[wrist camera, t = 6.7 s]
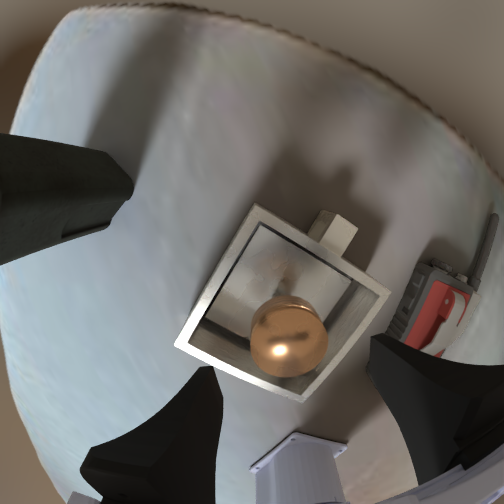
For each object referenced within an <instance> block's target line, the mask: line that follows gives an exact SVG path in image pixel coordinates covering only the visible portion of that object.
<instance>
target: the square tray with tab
mask: <svg viewBox="0 0 504 504" xmlns="http://www.w3.org/2000/svg"><path fill="white" fill-rule="evenodd" d="M259 220H260V221H261V222H263V223H265V224H266V225H268V226H270V227H271V228H273V229H275V230H276V231H278V232H280V233H281V234H283V235H285V236H286V237H288V238H290V239H291V240H293V241H295V242H296V243H298V244H299V245H301V246H303V247H304V248H306V249H308V250H309V251H311V252H312V253H314V254H316V255H317V256H319V257H320V258H322V259H324V260H325V261H327V262H328V263H330V264H332V265H333V266H335V267H336V268H338V269H339V270H341V271H343V272H344V273H346V274H347V275H349V276H350V277H352V278H353V280H352V282H351V283H350V285H349V286H348V288H347V289H346V291H345V292H344V293H343V295H342V296H341V298H340V299H339V301H338V302H337V304H336V305H335V306H334V308H333V309H332V311H331V312H330V313H329V315H328V316H327V318H326V319H325V320H324V322H323V325H324V327H325V329H326V331H327V334H328V348H327V351H326V354H325V356H324V357H323V359H322V360H321V362H320V363H319V364H318V365H317V366H316V367H314V368H313V369H312V370H310V371H308V372H306V373H304V374H302V375H298V376H294V377H277V376H273V375H270V374H268V373H266V372H264V371H263V370H261V369H260V368H259V367H258V366H257V365H256V363H255V362H254V360H253V358H252V355H251V348H250V340H248V339H246V338H244V337H242V336H240V335H238V334H236V333H234V332H232V331H230V330H228V329H226V328H224V327H222V326H221V325H219V324H217V323H215V322H213V321H211V320H209V319H208V318H206V317H204V316H202V315H203V314H204V312H205V310H206V309H207V307H208V305H209V304H210V302H211V300H212V299H213V297H214V295H215V294H216V292H217V290H218V289H219V287H220V285H221V283H222V282H223V280H224V278H225V277H226V275H227V273H228V272H229V270H230V268H231V267H232V265H233V263H234V262H235V260H236V258H237V257H238V255H239V253H240V252H241V250H242V248H243V247H244V245H245V243H246V242H247V240H248V238H249V237H250V235H251V233H252V232H253V230H254V229H255V227H256V225H257V224H258V222H259ZM357 230H358V228H357V227H355V226H354V225H353V224H351V223H350V222H348V221H347V220H345V219H344V218H343V217H341V216H340V215H338V214H336V213H332V212H329V211H325V210H321V212H320V213H319V215H318V216H317V218H316V220H315V221H314V223H313V225H312V226H311V228H310V229H309V231H308V233H307V234H306V233H305V232H303V231H302V230H300V229H298V228H297V227H295V226H294V225H292V224H290V223H289V222H287V221H285V220H284V219H282V218H281V217H279V216H277V215H276V214H274V213H272V212H271V211H269V210H267V209H266V208H264V207H262V206H261V205H259V204H257V203H256V202H254V204H253V205H252V207H251V209H250V210H249V212H248V214H247V215H246V217H245V219H244V220H243V222H242V224H241V226H240V227H239V229H238V231H237V232H236V234H235V236H234V237H233V239H232V241H231V242H230V244H229V246H228V248H227V249H226V251H225V253H224V254H223V256H222V258H221V260H220V261H219V263H218V265H217V266H216V268H215V270H214V272H213V273H212V275H211V277H210V278H209V280H208V282H207V284H206V285H205V287H204V289H203V291H202V292H201V294H200V296H199V298H198V299H197V301H196V303H195V305H194V307H193V308H192V310H191V312H190V314H189V315H188V317H187V319H186V322H185V324H184V326H183V328H182V330H181V332H180V334H179V336H178V338H177V340H176V342H175V344H174V345H175V346H177V347H179V348H180V349H182V350H184V351H186V352H188V353H190V354H192V355H194V356H196V357H197V358H199V359H201V360H203V361H205V362H207V363H209V364H211V365H213V366H215V367H217V368H220V369H222V370H224V371H226V372H228V373H230V374H232V375H234V376H237V377H239V378H241V379H243V380H246V381H248V382H250V383H252V384H255V385H257V386H259V387H262V388H264V389H267V390H269V391H272V392H274V393H277V394H279V395H282V396H284V397H287V398H290V399H292V400H295V401H298V402H300V403H303V402H304V401H305V400H306V399H307V398H308V397H309V396H310V395H311V394H312V393H313V392H314V391H315V390H316V389H317V387H318V386H319V385H320V384H321V383H322V382H323V381H324V380H325V379H326V377H327V376H328V375H329V374H330V373H331V372H332V370H333V369H334V368H335V367H336V366H337V365H338V363H339V362H340V361H341V360H342V359H343V357H344V356H345V355H346V354H347V352H348V351H349V350H350V349H351V347H352V346H353V345H354V344H355V342H356V341H357V340H358V339H359V337H360V336H361V335H362V333H363V332H364V331H365V329H366V328H367V327H368V325H369V324H370V323H371V321H372V320H373V318H374V317H375V316H376V314H377V313H378V311H379V310H380V309H381V307H382V306H383V304H384V303H385V301H386V300H387V298H388V297H389V295H390V294H391V291H390V290H388V289H387V288H386V287H384V286H383V285H382V284H381V283H379V282H378V281H377V280H375V279H374V278H373V277H371V276H370V275H369V274H367V273H366V272H365V271H363V270H362V269H360V268H359V267H357V266H356V265H354V264H353V263H351V262H350V261H348V260H347V259H345V258H344V257H342V255H343V253H344V251H345V250H346V248H347V247H348V245H349V243H350V242H351V240H352V239H353V237H354V235H355V234H356V232H357Z"/></svg>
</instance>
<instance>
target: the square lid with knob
mask: <svg viewBox="0 0 504 504" xmlns="http://www.w3.org/2000/svg"><path fill="white" fill-rule="evenodd" d="M350 283H351V280H350V279H349V278H347V277H345V276H344V275H342V274H341V273H339V272H338V271H336V270H334V269H333V268H331V267H330V266H328V265H326V264H325V263H323V262H322V261H320V260H318V259H317V258H315V257H314V256H312V255H310V254H309V253H307V252H305V251H304V250H302V249H301V248H299V247H297V246H296V245H294V244H292V243H291V242H289V241H287V240H286V239H284V238H283V237H281V236H279V235H278V234H276V233H274V232H273V231H271V230H269V229H268V228H266V227H264V226H263V225H261V224H260V225H259V227H258V229H257V230H256V232H255V234H254V235H253V237H252V239H251V240H250V242H249V244H248V245H247V247H246V248H245V250H244V252H243V253H242V255H241V257H240V258H239V260H238V262H237V263H236V265H235V267H234V268H233V270H232V272H231V273H230V275H229V277H228V278H227V280H226V282H225V283H224V285H223V287H222V288H221V290H220V292H219V293H218V295H217V297H216V298H215V300H214V302H213V303H212V305H211V307H210V308H209V310H208V312H207V313H206V316H205V317H206V318H208V319H210V320H212V321H213V322H215V323H217V324H219V325H221V326H223V327H225V328H227V329H228V330H230V331H232V332H234V333H236V334H238V335H240V336H242V337H244V338H246V339H248V340H250V348H251V355H252V358H253V360H254V362H255V363H256V365H257V366H258V367H259V368H260V369H261V370H263V371H264V372H266V373H268V374H270V375H273V376H277V377H294V376H298V375H302V374H304V373H306V372H308V371H310V370H312V369H313V368H314V367H316V366H317V365H318V364H319V363H320V362H321V360H322V359H323V357H324V356H325V354H326V351H327V348H328V334H327V331H326V329H325V327H324V325H323V321H324V320H325V319H326V317H327V316H328V315H329V313H330V312H331V310H332V309H333V308H334V306H335V305H336V303H337V302H338V300H339V299H340V298H341V296H342V295H343V293H344V292H345V290H346V289H347V287H348V286H349V284H350Z"/></svg>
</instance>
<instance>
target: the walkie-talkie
mask: <svg viewBox="0 0 504 504" xmlns="http://www.w3.org/2000/svg"><path fill="white" fill-rule="evenodd" d="M498 221H499V216H498V215H497V214H496V213H493V214H492V215H491V217H490V221H489V224H488V228H487V232H486V235H485V239H484V242H483V245H482V248H481V251H480V254H479V257H478V260H477V263H476V266H475V269H474V271H473V274H472V276H470V279H469V281H468V283H467V279H468V278H467V277H466V276H464V275H461V274H459V273H458V275H457V277H455V278H453V277H452V276H450V275H448V272H449V273H451V272H452V270H453V268H452V267H451V266H450V265H448V264H445V263H443V262H441V261H439V260H437V259H435V258H434V259H433V260H432V262H431V263H432V265H433V267H430V266H428V265H426V264H424V263H421V262H420V263H418V264H417V265H416V267H415V269H414V272H413V274H412V277H411V279H410V281H409V284H408V286H407V288H406V290H405V293H404V295H403V297H402V299H401V301H400V304H399V306H398V308H397V310H396V314H395V316H393V320H392V321H391V322H390V323H391V324H390V326H389V327H388V330H387V332H385V334H386V335H388V336H390V337H392V338H394V339H396V340H398V341H400V342H402V343H404V344H406V345H409V346H411V347H413V348H415V349H417V350H420V351H422V352H425V353H427V354H430V355H432V356H435V357H438V358H440V357H441V356H442V354H443V352H444V351H445V349H446V348H447V347H448V346H450V345H451V344H452V343H453V342H454V341H455V340H456V339H457V338H459V337H460V336H461V335H462V334H463V332H464V330H465V328H466V326H467V324H468V322H469V320H470V318H471V316H472V314H473V312H474V310H475V308H476V305H477V304H478V303H479V301H480V298H481V296H480V295H478V294H477V293H476V292H477V290H478V287H479V285H480V282H481V281H480V279H481V276H482V273H483V271H484V268H485V265H486V262H487V259H488V256H489V253H490V250H491V247H492V243H493V240H494V236H495V233H496V229H497V225H498ZM369 365H370V362H368V365H367V366H366V371H367V374H368V376H369V377H370V379H371V381H372V382H373V384H374V381H373V379H372V376H371V374H370V372H369ZM374 386H375V384H374ZM375 388H376V386H375ZM376 389H377V388H376Z"/></svg>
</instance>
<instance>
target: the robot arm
mask: <svg viewBox="0 0 504 504" xmlns="http://www.w3.org/2000/svg"><path fill="white" fill-rule="evenodd" d="M369 372H370V374H371V376H372V379H373V381H374V384H375V386H376V388H377V390H378V391H379V393H380V395H381V396H382V398H383V400H384V401H385V403H386V405H387V406H388V408H389V409H390V411H391V413H392V414H393V416H394V418H395V419H396V421H397V423H398V425H399V427H400V430H401V432H402V435H403V437H404V440H405V442H406V445H407V448H408V450H409V453H410V456H411V459H412V463H413V466H414V469H415V473H416V477H417V481H418V485H419V486H418V487H416V488H413V489H411V490H409V491H406V492H404V493H402V494H399V495H397V496H394V497H392V498H389V499H386V500H384V501H381V502H378V503H375V504H491V503H492V502H494V501H495V500H496V499H497V498H499V497H500V496H501V495H502V494H504V365H490V366H489V365H472V364H464V363H458V362H453V361H449V360H446V359H442V358H438V357H435V356H432V355H430V354H427V353H425V352H422V351H420V350H417V349H415V348H413V347H411V346H409V345H406V344H404V343H402V342H400V341H398V340H396V339H394V338H392V337H390V336H388V335H386V334H383V333H381V334H378V335H374V336H371V340H370V365H369ZM222 419H223V395H222V392H221V389H220V386H219V383H218V380H217V377H216V374H215V371H214V368H213V366H204V367H199V368H198V370H197V371H196V372H195V373H194V374H193V376H192V377H191V378H190V379H189V380H188V382H187V383H186V384H185V385H184V386H183V388H182V389H181V390H180V391H179V392H178V393H177V394H176V395H175V396H174V397H173V398H172V399H171V400H170V401H169V402H168V403H167V404H166V405H165V406H164V407H163V408H162V409H161V410H160V411H159V412H157V413H156V414H155V415H154V416H152V417H151V418H150V419H148V420H147V421H146V422H144V423H142V424H141V425H139V426H138V427H136V428H135V429H133V430H131V431H130V432H128V433H126V434H124V435H122V436H120V437H118V438H116V439H113V440H111V441H108V442H106V443H103V444H100V445H97V446H94V447H91V449H90V450H89V452H88V454H87V456H86V458H85V460H84V461H83V463H82V465H81V467H80V473H81V475H82V477H83V478H84V479H85V480H86V482H87V483H88V484H90V485H91V486H92V487H93V488H94V489H95V490H96V491H97V492H98V493H99V494H100V495H102V496H103V498H102V501H101V502H100V501H98V500H96V499H94V498H92V497H89V496H86V495H83V494H80V493H77V492H72V494H71V496H70V499H69V501H68V503H67V504H215V471H216V456H217V449H218V443H219V437H220V432H221V426H222ZM347 448H348V447H347V445H346V444H342V443H337V442H333V441H329V440H324V439H320V438H316V437H313V436H309V435H305V434H302V433H298V432H295V433H292V434H291V435H290V436H289V437H288V438H287V439H285V440H284V441H283V442H282V443H281V444H280V445H278V446H277V447H276V448H275V449H274V450H272V451H271V452H270V453H269V454H268V455H266V456H265V457H264V458H263V459H261V460H260V461H259V462H257V463H256V464H255V465H253V466H252V467H251V468H250V469H249V472H251V473H255V474H256V504H350V502H346V500H345V496H344V493H343V489H342V485H341V481H340V478H339V474H338V470H337V467H336V463H335V459H334V458H336V457H337V456H338V455H340V454H341V453H342V452H343V451H345V450H346V449H347Z"/></svg>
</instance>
